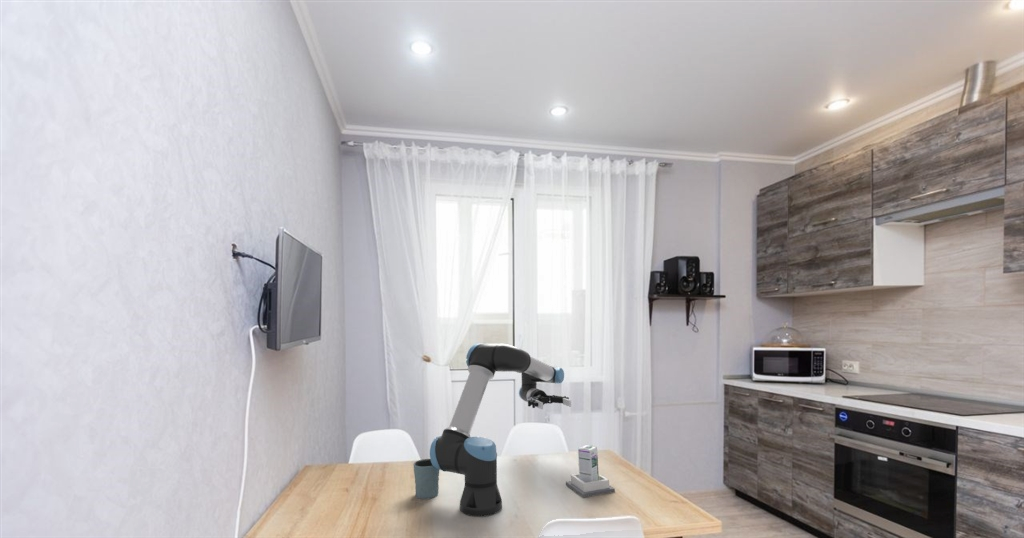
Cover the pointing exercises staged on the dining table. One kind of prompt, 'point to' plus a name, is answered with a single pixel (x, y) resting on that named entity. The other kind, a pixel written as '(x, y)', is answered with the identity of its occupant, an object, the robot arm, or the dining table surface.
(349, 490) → the dining table surface
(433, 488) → the teal cup
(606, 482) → the socket plate
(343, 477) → the dining table surface
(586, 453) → the syrup box
